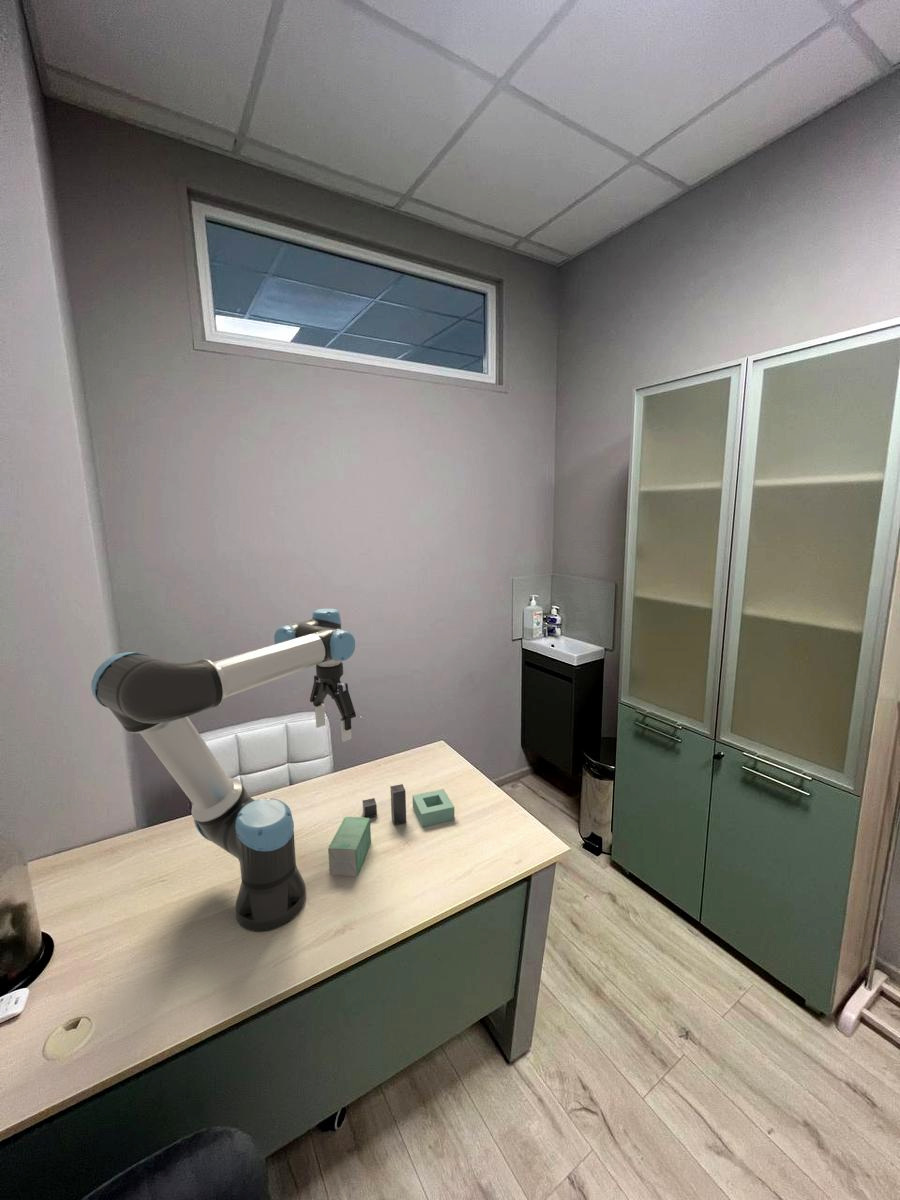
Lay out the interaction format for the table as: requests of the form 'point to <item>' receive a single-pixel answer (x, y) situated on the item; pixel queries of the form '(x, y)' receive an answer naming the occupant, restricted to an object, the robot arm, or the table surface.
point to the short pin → (369, 808)
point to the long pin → (398, 804)
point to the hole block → (433, 807)
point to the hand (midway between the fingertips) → (333, 732)
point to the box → (349, 846)
